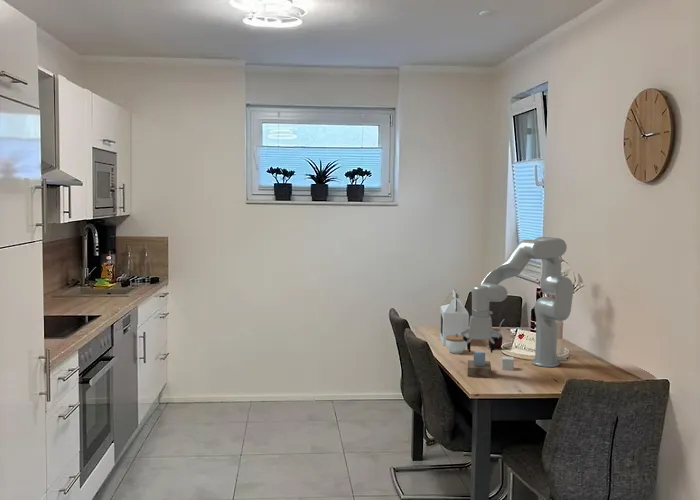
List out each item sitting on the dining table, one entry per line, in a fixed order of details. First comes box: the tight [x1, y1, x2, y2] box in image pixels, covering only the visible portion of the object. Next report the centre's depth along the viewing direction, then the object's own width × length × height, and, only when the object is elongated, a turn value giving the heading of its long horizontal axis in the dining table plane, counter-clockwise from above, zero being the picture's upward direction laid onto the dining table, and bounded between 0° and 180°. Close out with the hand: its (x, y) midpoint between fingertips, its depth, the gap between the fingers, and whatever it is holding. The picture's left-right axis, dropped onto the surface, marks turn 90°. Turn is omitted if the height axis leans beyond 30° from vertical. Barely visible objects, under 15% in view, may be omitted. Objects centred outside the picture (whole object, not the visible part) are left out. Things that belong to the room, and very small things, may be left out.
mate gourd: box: [488, 318, 506, 351], centre depth 341 cm, size 8×8×15 cm
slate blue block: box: [473, 351, 486, 366], centre depth 292 cm, size 5×5×5 cm
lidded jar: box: [445, 334, 467, 354], centre depth 332 cm, size 11×11×9 cm
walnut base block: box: [466, 359, 492, 379], centre depth 293 cm, size 10×13×4 cm
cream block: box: [501, 355, 515, 371], centre depth 301 cm, size 5×5×5 cm
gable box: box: [439, 288, 470, 347], centre depth 356 cm, size 22×13×28 cm, turn 177°
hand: (480, 351), depth 292 cm, fingers open, 9 cm apart
